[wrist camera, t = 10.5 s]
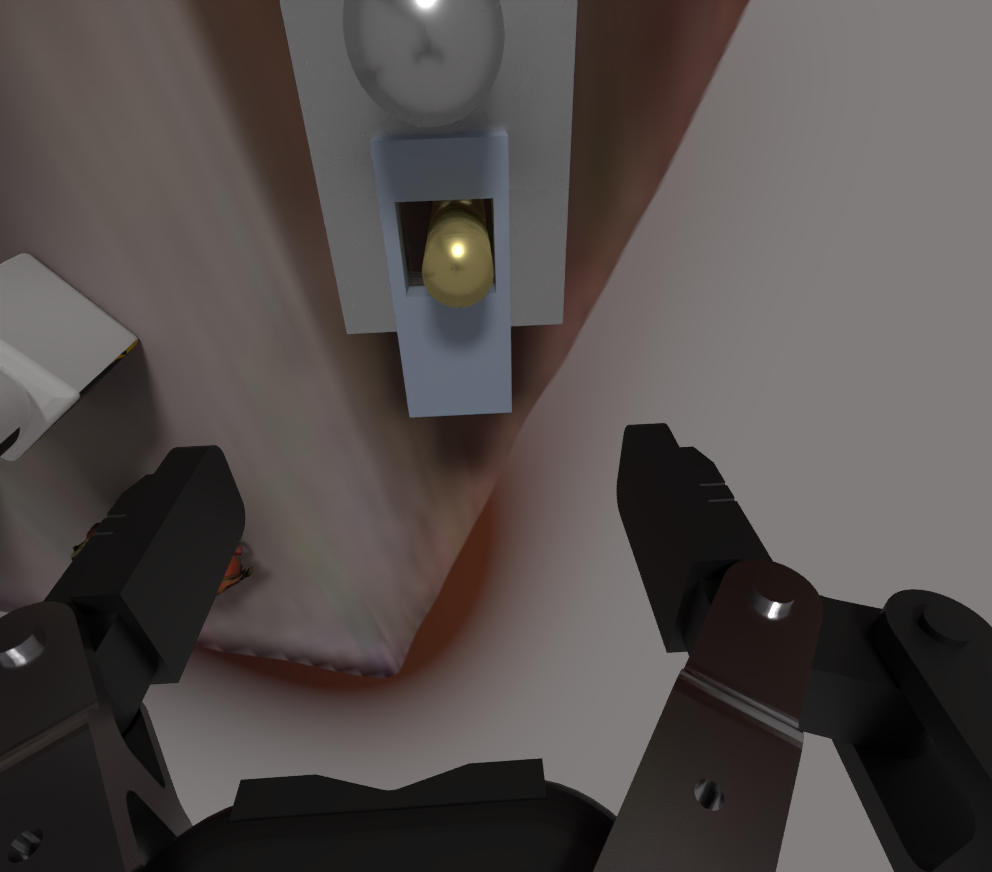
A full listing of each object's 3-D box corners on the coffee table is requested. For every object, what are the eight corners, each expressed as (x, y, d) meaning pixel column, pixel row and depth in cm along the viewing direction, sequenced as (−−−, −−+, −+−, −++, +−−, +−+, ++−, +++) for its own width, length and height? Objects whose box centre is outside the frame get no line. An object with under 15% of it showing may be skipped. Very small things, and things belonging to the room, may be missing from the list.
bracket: (422, 328, 35) (409, 417, 27) (397, 111, 28) (369, 141, 20) (500, 324, 35) (511, 412, 27) (494, 107, 28) (508, 135, 20)
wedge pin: (433, 168, 30) (418, 238, 19) (481, 166, 30) (492, 235, 19) (437, 218, 31) (425, 309, 21) (483, 216, 31) (494, 305, 21)
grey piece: (372, 268, 33) (325, 389, 21) (320, -58, 24) (195, -141, 13) (540, 260, 33) (581, 377, 22) (546, -64, 25) (618, -153, 13)
